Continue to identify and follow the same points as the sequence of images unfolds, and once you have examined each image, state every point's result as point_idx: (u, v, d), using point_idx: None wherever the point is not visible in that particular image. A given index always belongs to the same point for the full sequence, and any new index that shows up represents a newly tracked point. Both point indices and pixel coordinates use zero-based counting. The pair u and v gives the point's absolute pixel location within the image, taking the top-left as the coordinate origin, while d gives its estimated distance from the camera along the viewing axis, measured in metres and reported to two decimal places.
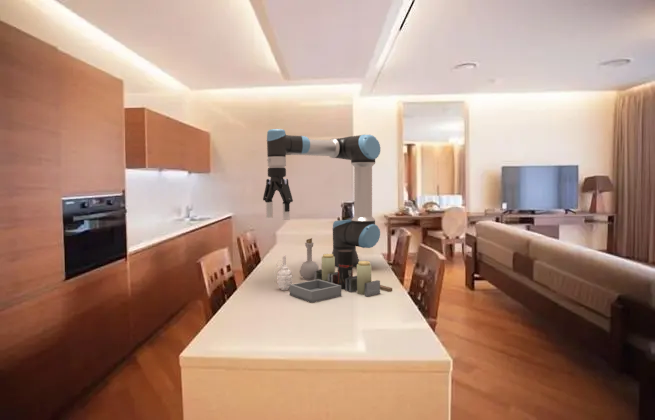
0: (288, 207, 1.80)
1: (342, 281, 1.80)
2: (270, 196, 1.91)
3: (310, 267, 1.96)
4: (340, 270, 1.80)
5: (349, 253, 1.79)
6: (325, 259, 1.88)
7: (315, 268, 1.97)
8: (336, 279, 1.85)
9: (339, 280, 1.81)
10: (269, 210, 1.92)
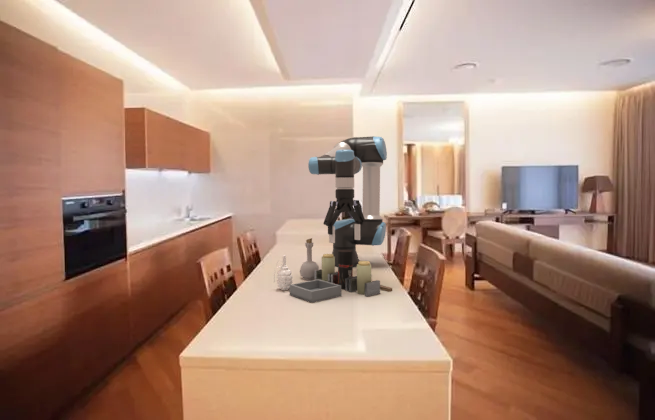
0: (329, 230, 1.76)
1: (342, 281, 1.80)
2: (354, 218, 1.84)
3: (310, 267, 1.96)
4: (340, 270, 1.80)
5: (349, 253, 1.79)
6: (325, 259, 1.88)
7: (315, 268, 1.97)
8: (336, 279, 1.85)
9: (339, 280, 1.81)
10: (356, 232, 1.85)
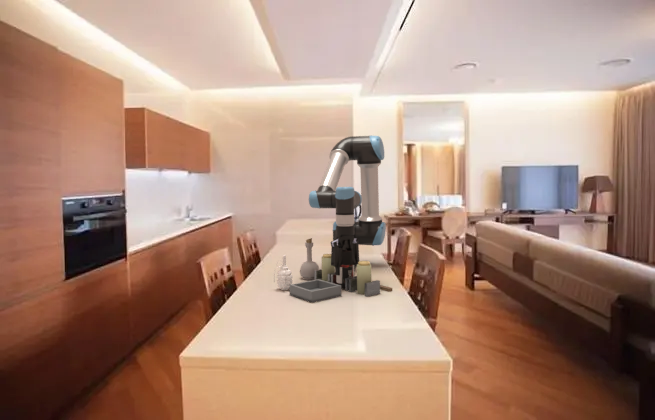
0: (336, 271, 1.79)
1: (342, 281, 1.80)
2: None
3: (310, 267, 1.96)
4: None
5: (349, 253, 1.79)
6: (325, 259, 1.88)
7: (315, 268, 1.97)
8: None
9: None
10: None
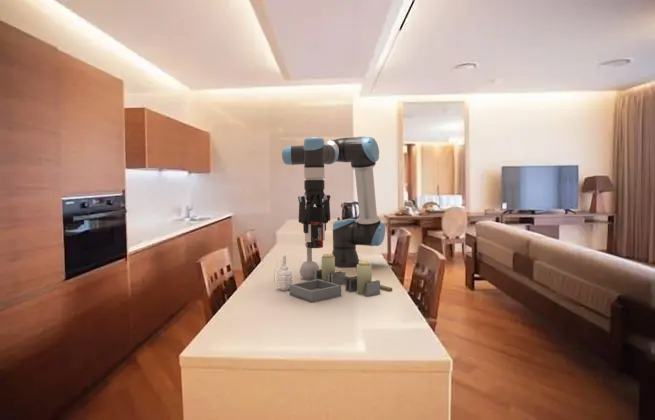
0: (304, 228, 1.66)
1: None
2: None
3: (310, 267, 1.96)
4: None
5: (318, 209, 1.66)
6: (325, 259, 1.88)
7: (315, 268, 1.97)
8: (336, 279, 1.85)
9: None
10: None
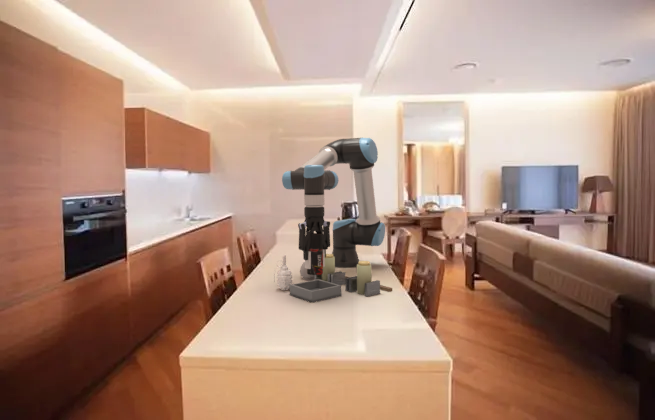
0: (304, 255, 1.66)
1: None
2: None
3: None
4: None
5: (318, 236, 1.66)
6: (325, 259, 1.88)
7: None
8: (336, 279, 1.85)
9: None
10: None
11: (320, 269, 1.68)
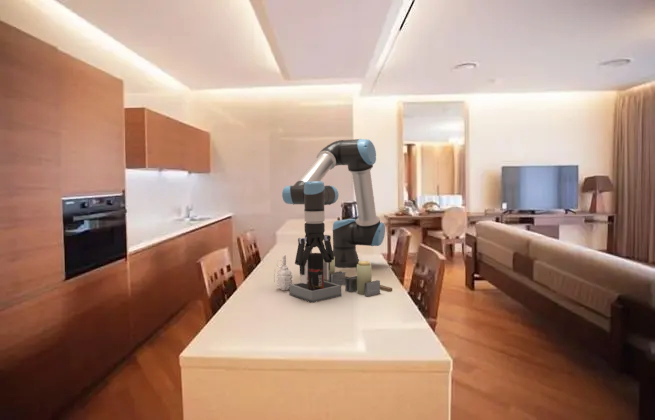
0: (301, 270, 1.66)
1: (311, 287, 1.68)
2: (323, 255, 1.72)
3: None
4: (310, 275, 1.68)
5: (319, 256, 1.67)
6: None
7: None
8: (336, 279, 1.85)
9: (309, 285, 1.69)
10: (324, 270, 1.73)
11: None
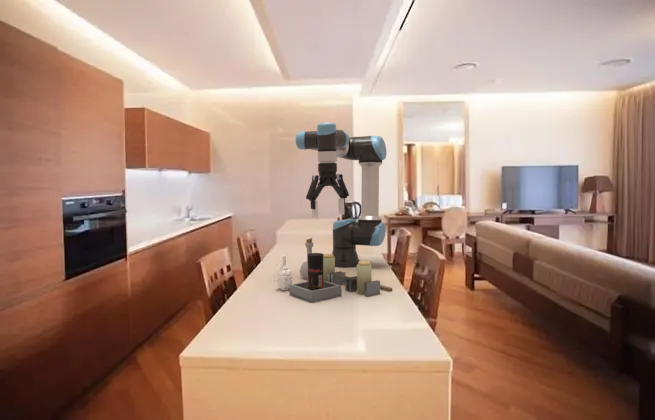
0: (312, 204, 1.74)
1: (311, 287, 1.68)
2: (338, 192, 1.83)
3: None
4: (310, 275, 1.68)
5: (319, 257, 1.67)
6: (325, 259, 1.88)
7: None
8: (336, 279, 1.85)
9: (309, 285, 1.69)
10: (340, 206, 1.84)
11: None
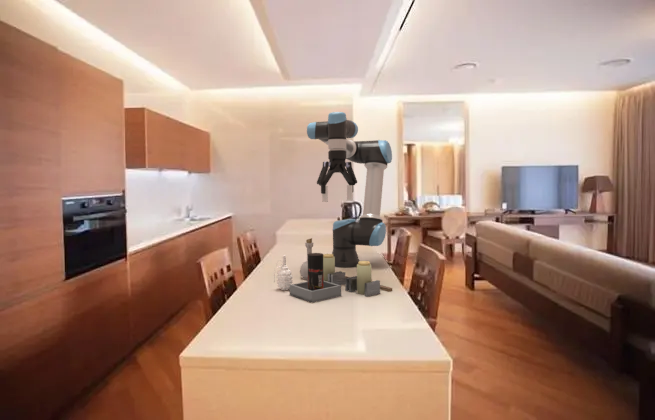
0: (322, 189, 1.83)
1: (311, 287, 1.68)
2: (347, 179, 1.91)
3: None
4: (310, 275, 1.68)
5: (319, 257, 1.67)
6: (325, 259, 1.88)
7: None
8: (336, 279, 1.85)
9: (309, 285, 1.69)
10: (348, 193, 1.92)
11: None
